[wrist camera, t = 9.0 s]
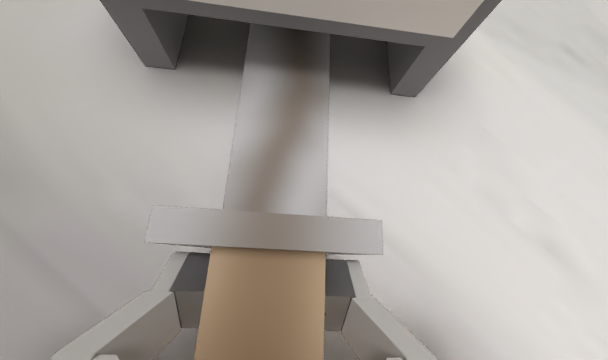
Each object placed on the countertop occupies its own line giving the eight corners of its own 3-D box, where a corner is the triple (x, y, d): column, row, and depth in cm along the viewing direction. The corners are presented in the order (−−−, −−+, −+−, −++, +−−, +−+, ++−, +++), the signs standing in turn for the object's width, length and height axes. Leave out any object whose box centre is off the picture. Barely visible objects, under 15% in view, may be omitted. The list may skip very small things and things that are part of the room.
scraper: (202, 335, 13) (92, 456, 5) (249, 25, 19) (232, -127, 11) (325, 337, 13) (392, 449, 6) (331, 36, 20) (366, -101, 12)
